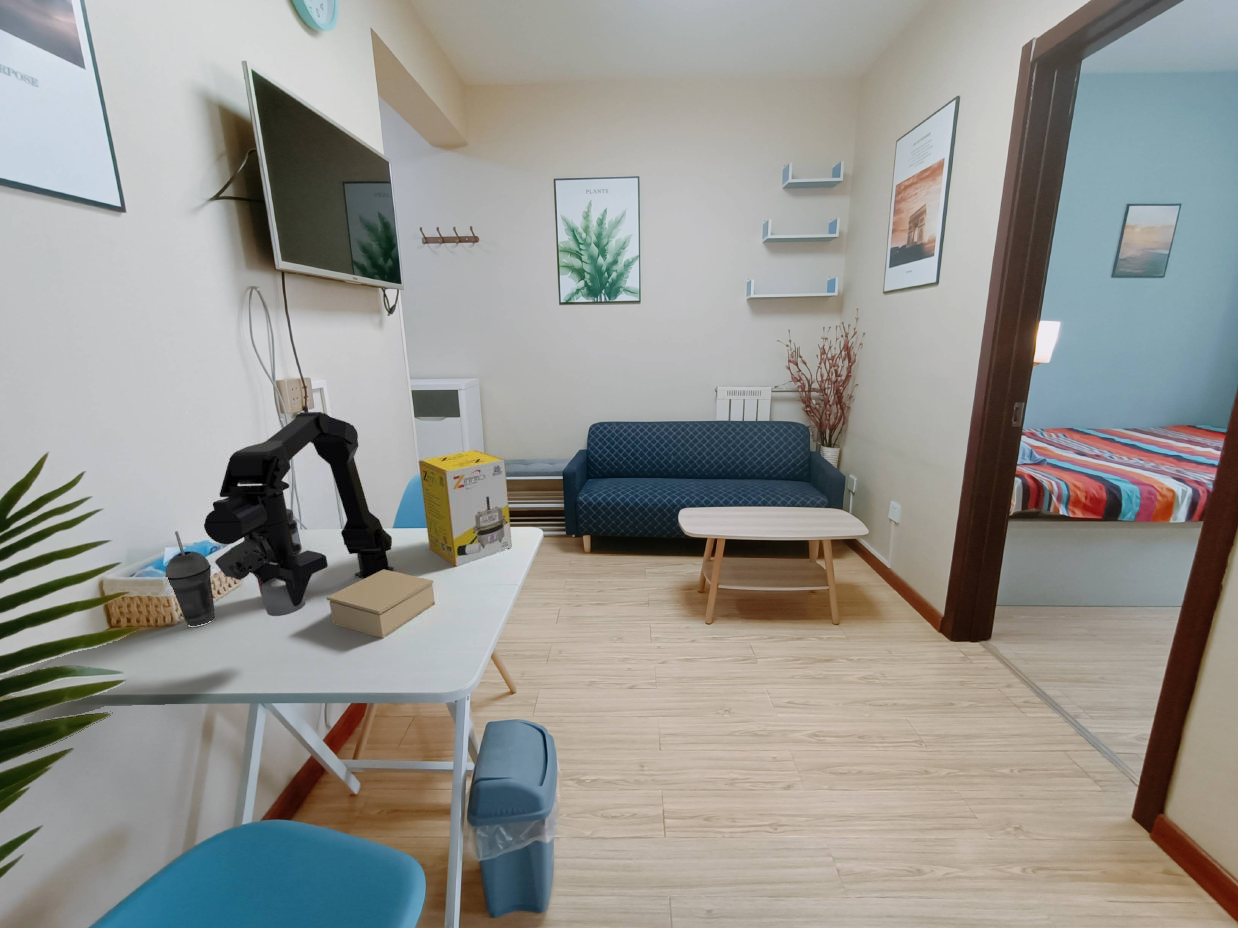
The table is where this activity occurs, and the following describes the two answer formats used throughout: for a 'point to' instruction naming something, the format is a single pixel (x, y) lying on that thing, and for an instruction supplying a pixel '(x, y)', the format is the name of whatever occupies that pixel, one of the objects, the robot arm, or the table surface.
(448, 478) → the packaging box
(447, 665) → the table surface
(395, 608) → the carton
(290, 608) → the grey short round piece
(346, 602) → the lid
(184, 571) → the beverage cup
